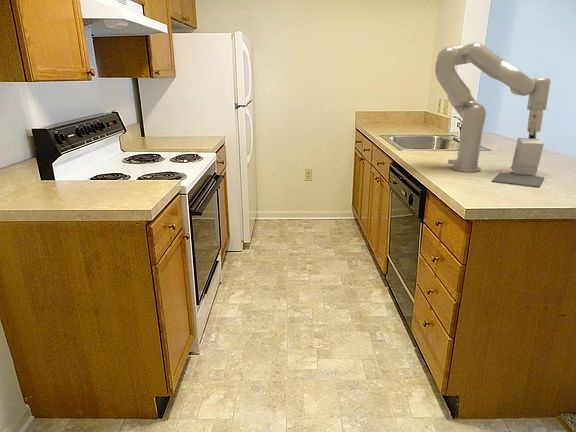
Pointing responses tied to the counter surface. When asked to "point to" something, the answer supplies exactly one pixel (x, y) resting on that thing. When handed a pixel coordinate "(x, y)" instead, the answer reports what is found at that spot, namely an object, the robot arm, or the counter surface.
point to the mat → (518, 179)
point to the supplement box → (527, 156)
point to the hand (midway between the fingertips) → (530, 146)
